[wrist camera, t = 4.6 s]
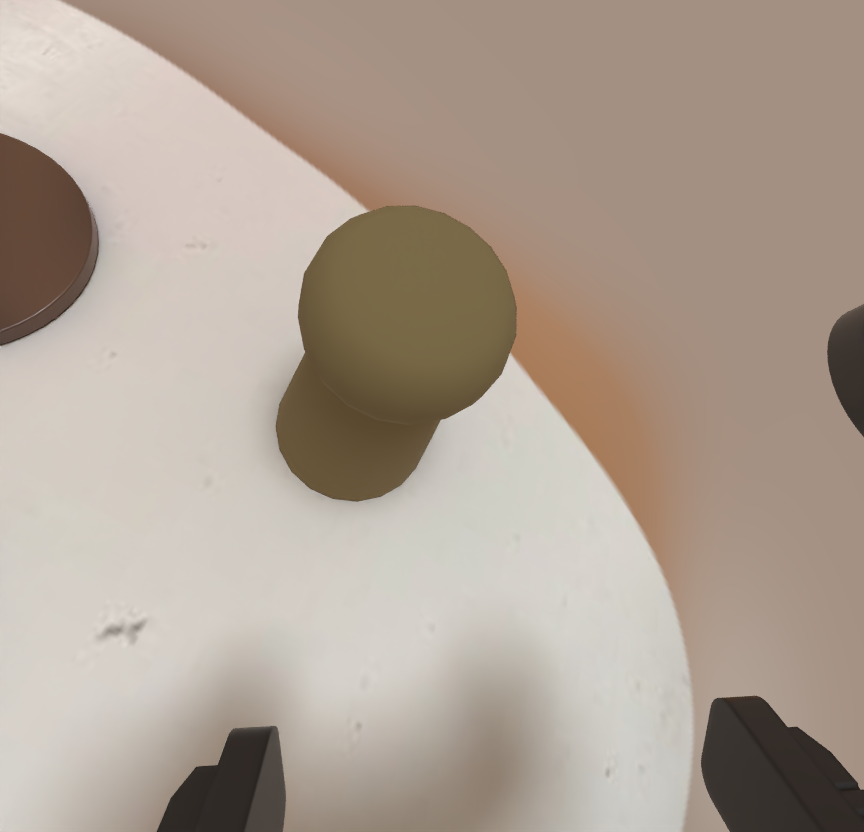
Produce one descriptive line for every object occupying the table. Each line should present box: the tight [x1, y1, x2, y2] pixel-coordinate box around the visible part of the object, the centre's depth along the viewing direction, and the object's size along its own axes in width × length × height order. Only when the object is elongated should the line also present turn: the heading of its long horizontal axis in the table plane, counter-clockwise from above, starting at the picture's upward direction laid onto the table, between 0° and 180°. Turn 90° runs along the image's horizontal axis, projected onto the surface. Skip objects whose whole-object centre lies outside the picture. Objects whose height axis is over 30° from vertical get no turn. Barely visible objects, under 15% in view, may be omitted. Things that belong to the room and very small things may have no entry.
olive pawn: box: [276, 206, 517, 501], centre depth 16 cm, size 6×6×11 cm
